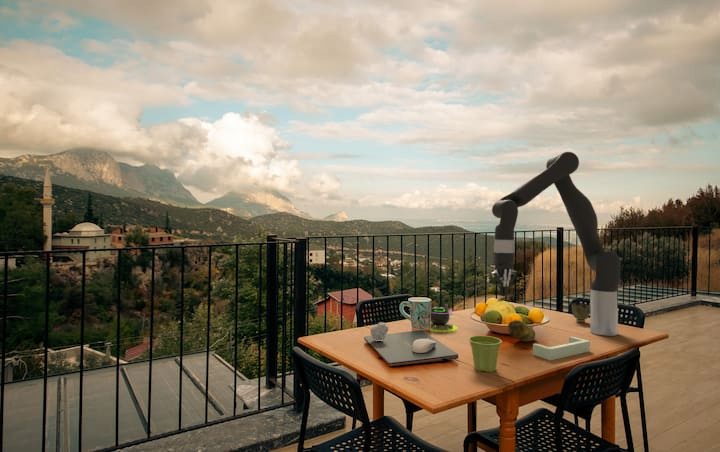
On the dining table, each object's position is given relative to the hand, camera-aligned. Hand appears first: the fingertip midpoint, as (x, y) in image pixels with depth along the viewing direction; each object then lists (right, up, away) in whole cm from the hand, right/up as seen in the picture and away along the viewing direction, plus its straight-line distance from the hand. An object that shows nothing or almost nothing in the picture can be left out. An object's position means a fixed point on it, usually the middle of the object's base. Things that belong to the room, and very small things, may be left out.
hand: (503, 295), depth 158 cm
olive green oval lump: (+4, -16, -8) cm, 18 cm away
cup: (+43, -16, +23) cm, 51 cm away
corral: (+12, -15, -22) cm, 29 cm away
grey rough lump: (-49, -15, -10) cm, 52 cm away
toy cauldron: (-23, -16, +12) cm, 30 cm away
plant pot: (-19, -15, -38) cm, 45 cm away
